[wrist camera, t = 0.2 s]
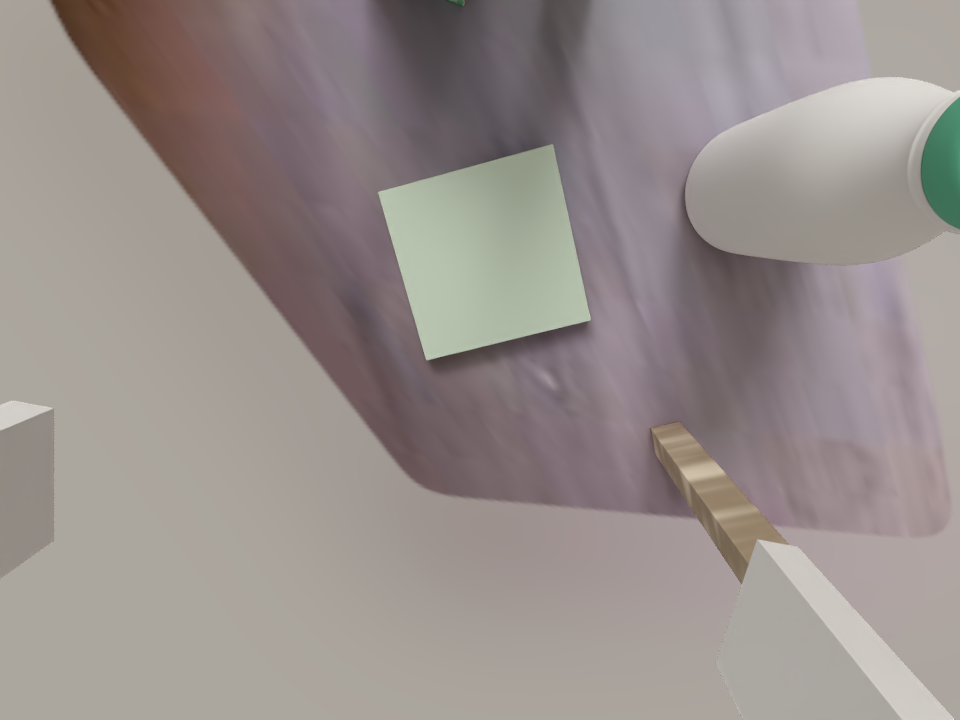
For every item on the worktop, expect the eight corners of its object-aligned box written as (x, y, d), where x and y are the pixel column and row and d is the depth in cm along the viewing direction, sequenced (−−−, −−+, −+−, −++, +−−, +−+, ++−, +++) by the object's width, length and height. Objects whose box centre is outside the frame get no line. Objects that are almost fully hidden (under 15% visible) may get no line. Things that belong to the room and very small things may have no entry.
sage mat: (381, 192, 36) (377, 192, 35) (551, 145, 35) (552, 143, 34) (428, 356, 38) (426, 360, 37) (588, 317, 37) (591, 320, 36)
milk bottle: (695, 268, 36) (918, 322, 17) (669, 146, 35) (882, 50, 15) (818, 233, 35) (1200, 246, 16) (797, 106, 34) (1194, -50, 14)
